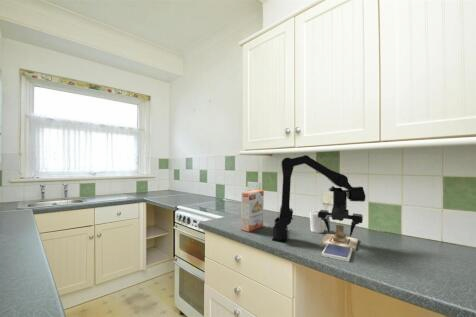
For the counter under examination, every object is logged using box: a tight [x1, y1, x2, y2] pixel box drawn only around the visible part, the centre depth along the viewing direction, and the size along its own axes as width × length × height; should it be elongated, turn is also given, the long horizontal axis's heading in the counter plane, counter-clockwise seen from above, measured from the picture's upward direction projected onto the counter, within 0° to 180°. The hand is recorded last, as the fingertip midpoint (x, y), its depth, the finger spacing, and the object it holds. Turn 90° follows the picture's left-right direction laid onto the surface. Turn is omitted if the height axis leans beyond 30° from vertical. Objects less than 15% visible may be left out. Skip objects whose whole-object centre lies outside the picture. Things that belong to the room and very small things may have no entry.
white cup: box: [309, 210, 325, 234], centre depth 125 cm, size 8×8×10 cm
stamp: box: [333, 224, 347, 243], centre depth 108 cm, size 5×5×7 cm
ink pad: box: [321, 244, 353, 262], centre depth 95 cm, size 10×12×2 cm
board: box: [320, 233, 359, 251], centre depth 108 cm, size 14×14×1 cm
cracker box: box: [240, 189, 265, 233], centre depth 130 cm, size 14×6×21 cm, turn 140°
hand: (339, 234), depth 108 cm, fingers open, 9 cm apart
